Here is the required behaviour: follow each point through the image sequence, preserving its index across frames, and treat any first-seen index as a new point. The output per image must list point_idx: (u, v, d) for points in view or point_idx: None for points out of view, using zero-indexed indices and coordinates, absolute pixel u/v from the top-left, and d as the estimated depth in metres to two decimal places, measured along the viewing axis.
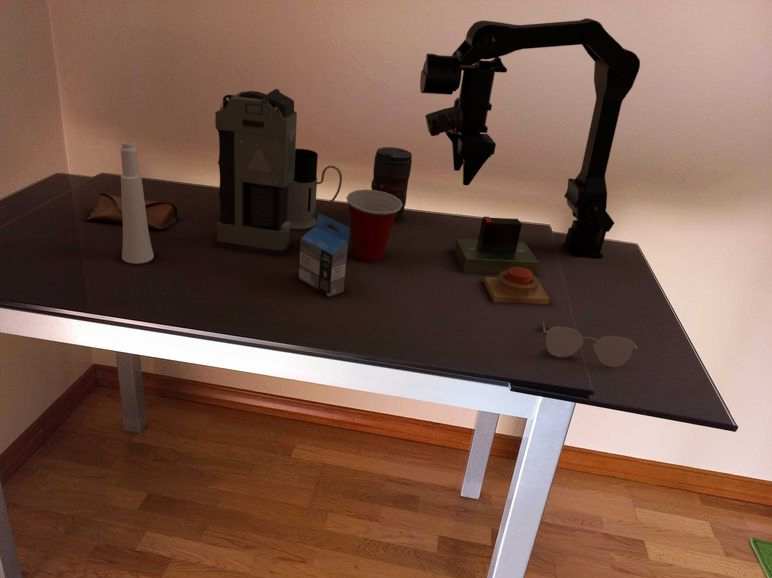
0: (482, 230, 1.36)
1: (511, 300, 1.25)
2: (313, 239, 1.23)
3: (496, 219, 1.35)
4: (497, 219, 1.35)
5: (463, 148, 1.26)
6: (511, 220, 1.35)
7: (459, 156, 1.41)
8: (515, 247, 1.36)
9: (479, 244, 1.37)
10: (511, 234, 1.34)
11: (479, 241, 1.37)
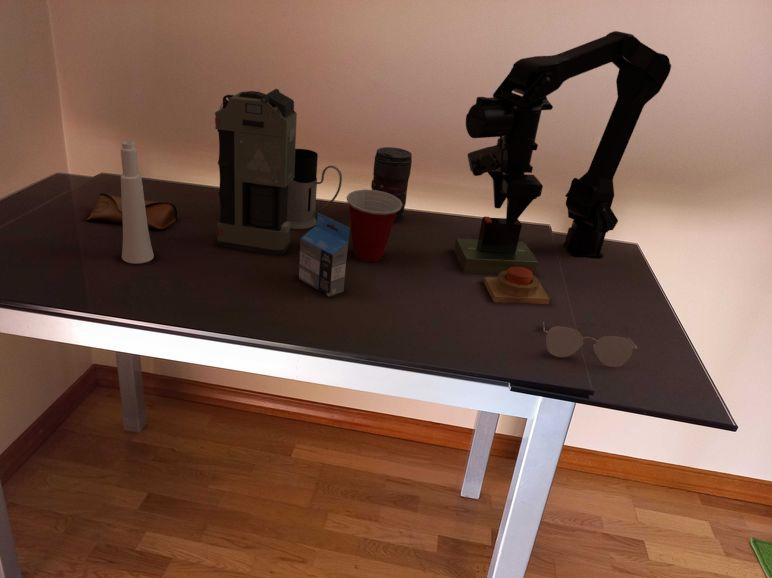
0: (482, 230, 1.36)
1: (511, 300, 1.25)
2: (313, 239, 1.23)
3: (496, 219, 1.35)
4: (497, 219, 1.35)
5: (509, 190, 1.22)
6: None
7: (500, 194, 1.37)
8: (515, 247, 1.36)
9: (479, 244, 1.37)
10: (511, 234, 1.34)
11: (479, 241, 1.37)
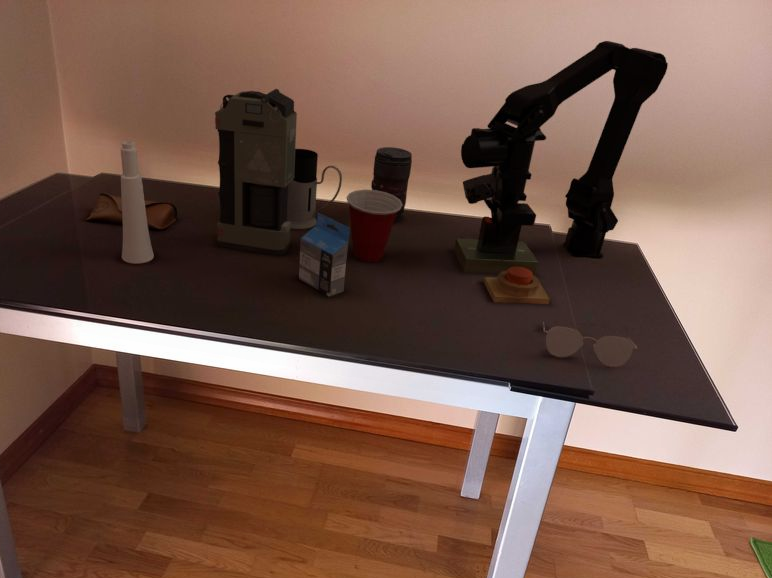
0: (482, 230, 1.36)
1: (511, 300, 1.25)
2: (313, 239, 1.23)
3: None
4: None
5: (503, 219, 1.25)
6: None
7: None
8: (515, 247, 1.36)
9: (479, 244, 1.37)
10: None
11: (479, 241, 1.37)
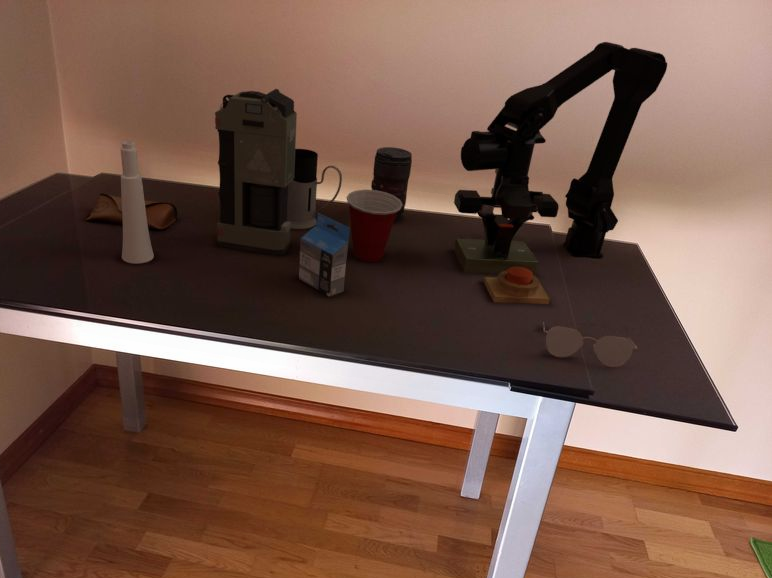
0: (503, 238, 1.33)
1: (511, 300, 1.25)
2: (313, 239, 1.23)
3: (500, 222, 1.34)
4: (499, 222, 1.34)
5: (556, 212, 1.31)
6: (499, 217, 1.36)
7: None
8: None
9: (501, 252, 1.34)
10: None
11: (499, 250, 1.34)
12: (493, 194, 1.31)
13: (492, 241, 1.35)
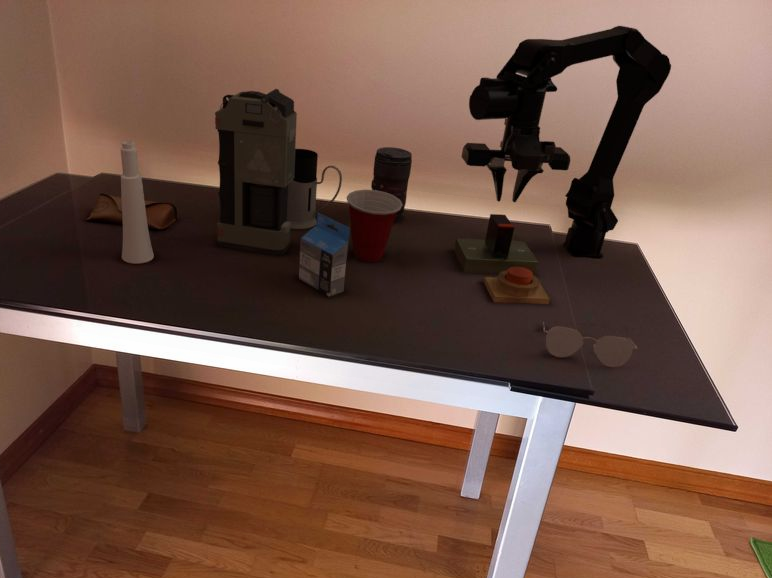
0: (503, 238, 1.33)
1: (511, 300, 1.25)
2: (313, 239, 1.23)
3: (500, 222, 1.34)
4: (499, 222, 1.34)
5: (568, 165, 1.26)
6: (499, 217, 1.36)
7: None
8: None
9: (501, 252, 1.34)
10: None
11: (499, 250, 1.34)
12: (502, 146, 1.27)
13: (492, 241, 1.35)
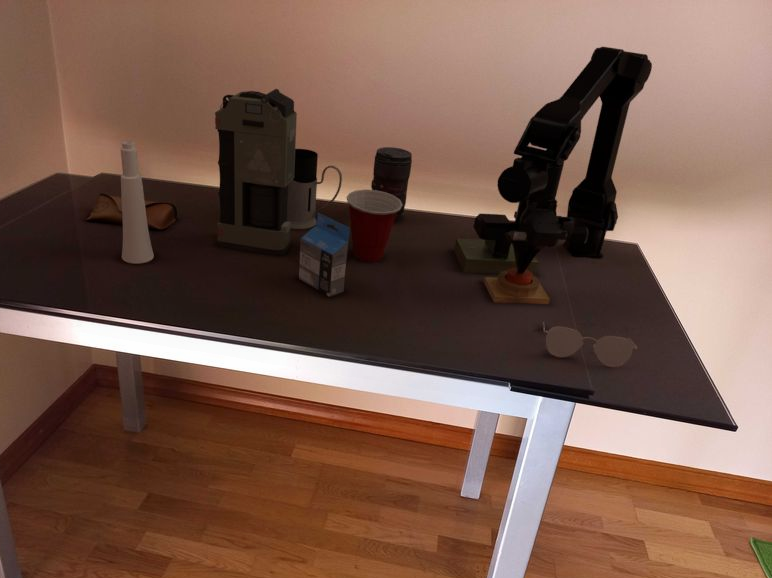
0: (503, 238, 1.33)
1: (511, 300, 1.25)
2: (313, 239, 1.23)
3: None
4: None
5: (586, 238, 1.20)
6: None
7: None
8: None
9: (501, 252, 1.34)
10: None
11: (499, 250, 1.34)
12: (517, 218, 1.20)
13: (492, 241, 1.35)
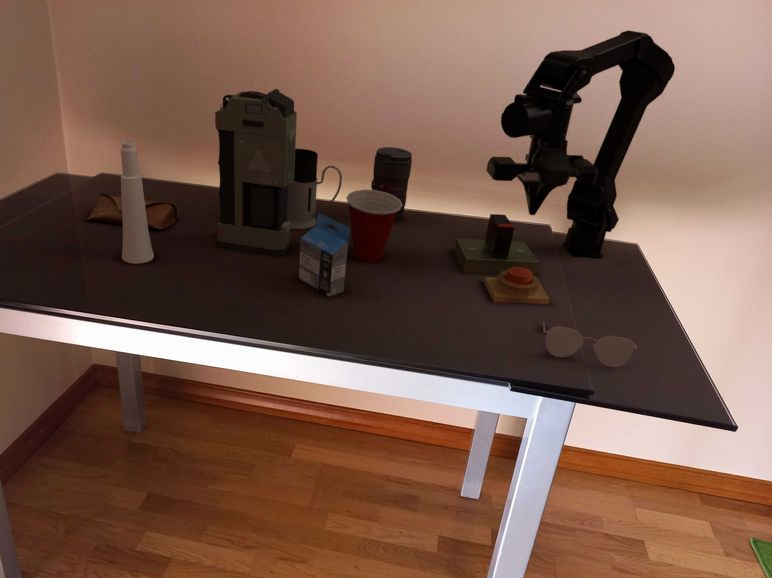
0: (503, 238, 1.33)
1: (511, 300, 1.25)
2: (313, 239, 1.23)
3: (500, 222, 1.34)
4: (499, 222, 1.34)
5: (595, 177, 1.24)
6: (499, 217, 1.36)
7: None
8: None
9: (501, 252, 1.34)
10: None
11: (499, 250, 1.34)
12: (528, 160, 1.25)
13: (492, 241, 1.35)
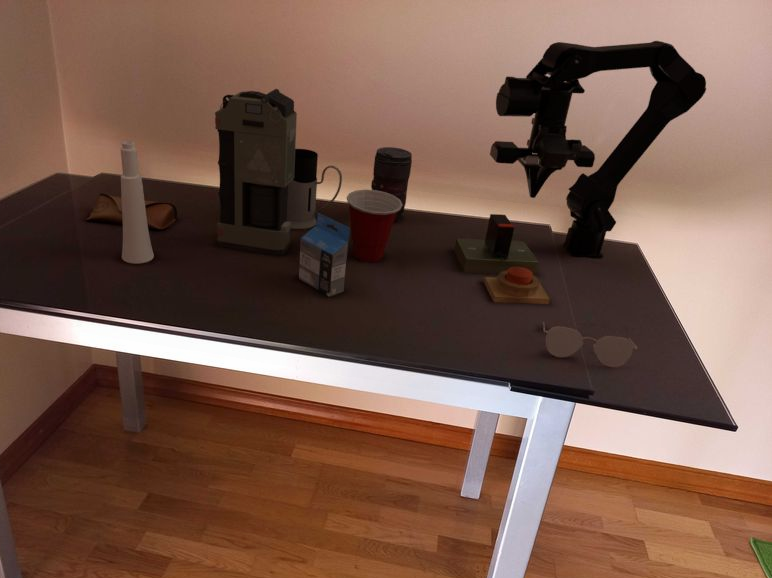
0: (503, 238, 1.33)
1: (511, 300, 1.25)
2: (313, 239, 1.23)
3: (500, 222, 1.34)
4: (499, 222, 1.34)
5: (593, 162, 1.32)
6: (499, 217, 1.36)
7: None
8: None
9: (501, 252, 1.34)
10: None
11: (499, 250, 1.34)
12: (530, 144, 1.32)
13: (492, 241, 1.35)
